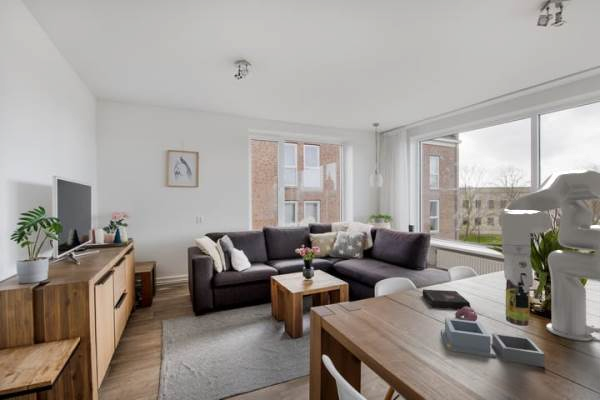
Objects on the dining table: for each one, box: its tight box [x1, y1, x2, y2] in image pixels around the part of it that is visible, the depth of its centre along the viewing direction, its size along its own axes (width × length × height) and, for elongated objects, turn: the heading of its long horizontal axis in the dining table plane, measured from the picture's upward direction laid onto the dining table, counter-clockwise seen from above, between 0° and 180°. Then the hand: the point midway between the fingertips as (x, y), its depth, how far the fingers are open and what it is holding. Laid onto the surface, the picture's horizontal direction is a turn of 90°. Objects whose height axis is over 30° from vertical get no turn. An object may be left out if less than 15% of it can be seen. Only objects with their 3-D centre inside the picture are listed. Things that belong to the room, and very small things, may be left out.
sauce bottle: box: [505, 279, 531, 327], centre depth 91 cm, size 6×6×20 cm
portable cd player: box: [422, 289, 472, 310], centre depth 138 cm, size 16×17×4 cm
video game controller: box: [454, 306, 478, 322], centre depth 116 cm, size 10×5×7 cm, turn 169°
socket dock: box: [440, 317, 497, 358], centre depth 98 cm, size 14×14×6 cm
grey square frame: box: [491, 332, 546, 368], centre depth 91 cm, size 11×11×4 cm
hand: (517, 302), depth 91 cm, fingers closed on sauce bottle, 6 cm apart
